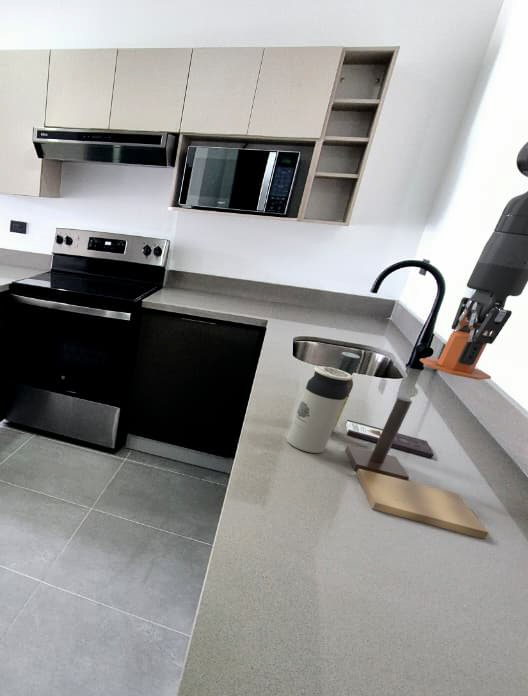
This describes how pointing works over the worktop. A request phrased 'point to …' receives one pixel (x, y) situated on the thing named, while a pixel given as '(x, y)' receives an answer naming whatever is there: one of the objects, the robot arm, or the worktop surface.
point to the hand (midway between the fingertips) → (458, 359)
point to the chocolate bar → (399, 442)
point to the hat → (456, 358)
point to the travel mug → (319, 409)
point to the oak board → (420, 503)
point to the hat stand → (383, 446)
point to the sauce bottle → (347, 365)
